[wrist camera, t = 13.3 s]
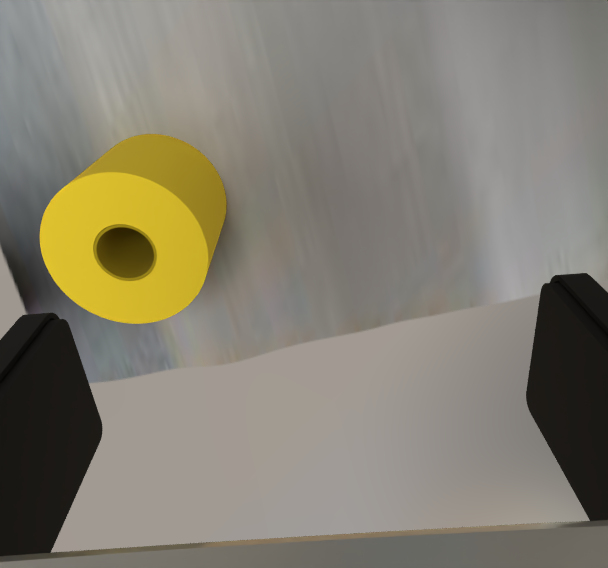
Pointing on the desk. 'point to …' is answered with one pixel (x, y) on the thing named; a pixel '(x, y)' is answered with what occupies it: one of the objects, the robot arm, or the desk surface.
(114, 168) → the tape roll
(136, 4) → the desk surface
